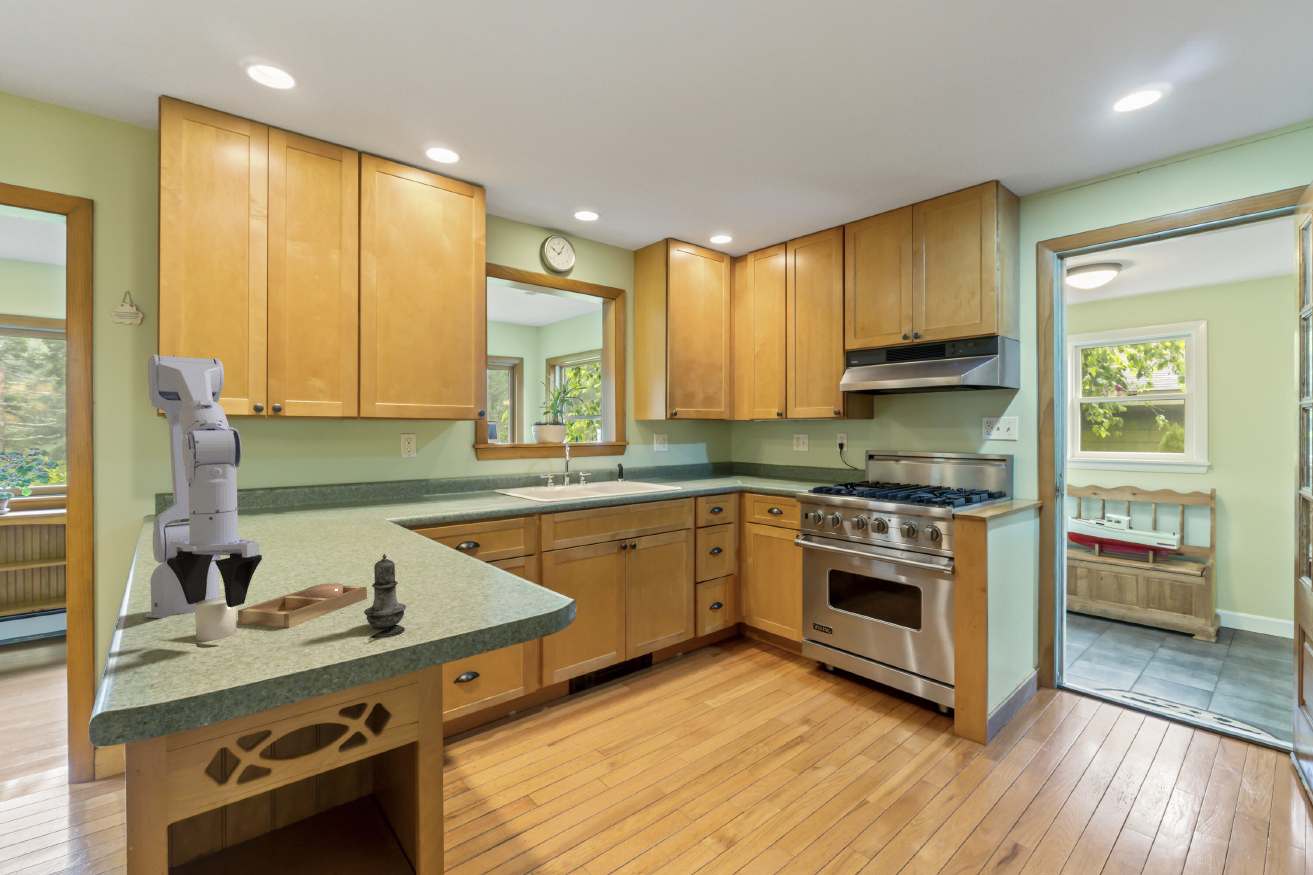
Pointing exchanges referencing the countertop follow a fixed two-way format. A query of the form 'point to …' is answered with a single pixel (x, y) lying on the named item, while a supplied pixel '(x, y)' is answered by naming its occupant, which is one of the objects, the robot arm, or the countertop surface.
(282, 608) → the tray
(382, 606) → the salt shaker
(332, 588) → the pinkish tan dome
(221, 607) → the cream cylinder
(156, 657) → the countertop surface
